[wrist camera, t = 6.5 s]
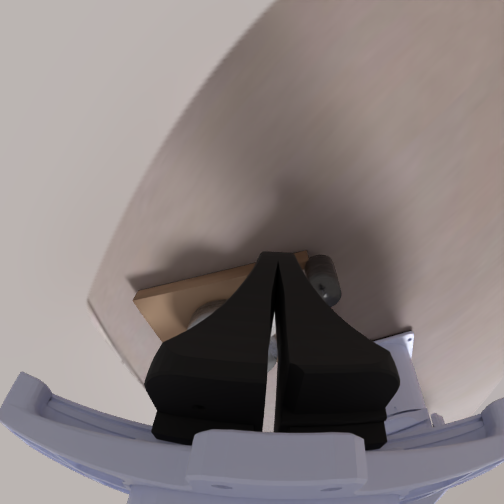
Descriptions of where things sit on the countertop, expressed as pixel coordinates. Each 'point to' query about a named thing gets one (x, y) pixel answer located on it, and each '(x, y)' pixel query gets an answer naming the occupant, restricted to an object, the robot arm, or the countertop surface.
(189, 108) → the countertop surface
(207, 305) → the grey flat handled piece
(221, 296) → the wooden board
